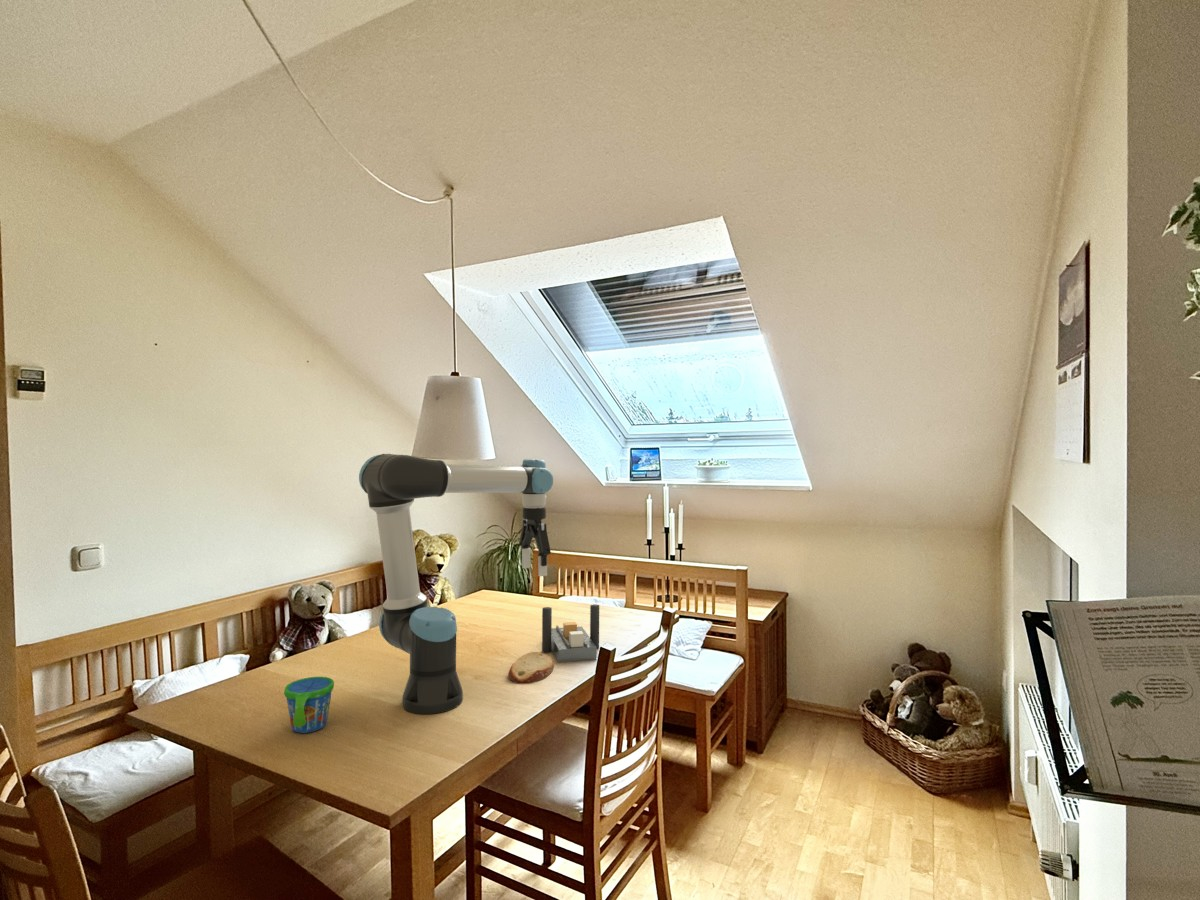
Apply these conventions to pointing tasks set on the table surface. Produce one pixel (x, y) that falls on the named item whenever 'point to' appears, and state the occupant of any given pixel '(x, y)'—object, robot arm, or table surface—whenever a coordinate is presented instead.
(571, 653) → the grey tray
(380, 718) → the table surface
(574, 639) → the toggle
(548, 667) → the bread slice
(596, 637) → the post right
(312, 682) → the snack cup
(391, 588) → the robot arm
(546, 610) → the post left
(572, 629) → the toggle
